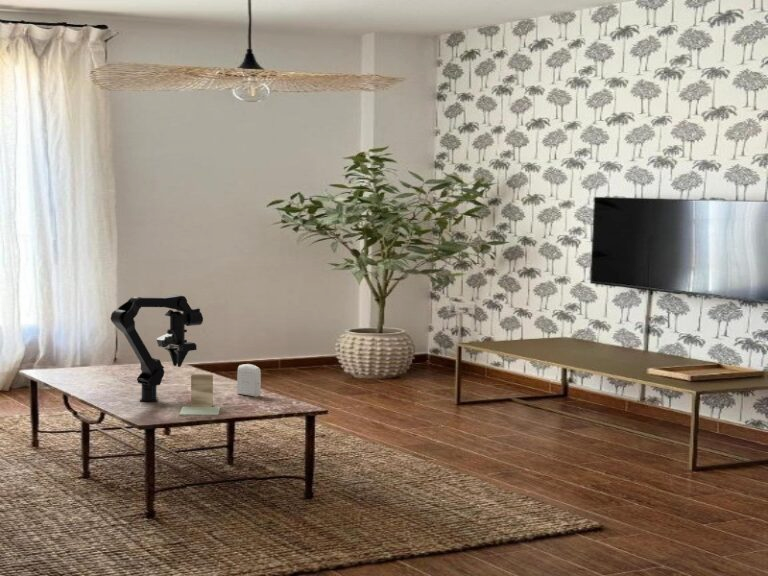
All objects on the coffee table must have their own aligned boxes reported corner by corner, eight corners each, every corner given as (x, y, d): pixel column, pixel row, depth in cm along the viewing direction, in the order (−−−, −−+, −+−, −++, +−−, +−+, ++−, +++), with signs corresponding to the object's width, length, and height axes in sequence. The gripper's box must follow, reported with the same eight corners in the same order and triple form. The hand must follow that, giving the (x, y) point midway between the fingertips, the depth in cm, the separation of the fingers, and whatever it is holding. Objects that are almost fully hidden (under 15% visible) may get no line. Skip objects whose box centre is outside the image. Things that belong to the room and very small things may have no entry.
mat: (182, 407, 432) (182, 406, 432) (220, 407, 433) (220, 406, 433) (179, 415, 418) (179, 414, 418) (218, 415, 419) (218, 414, 419)
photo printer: (262, 395, 459) (262, 365, 458) (255, 397, 456) (255, 366, 455) (242, 392, 465) (242, 362, 464) (235, 394, 461) (235, 363, 460)
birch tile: (191, 405, 437) (191, 374, 435) (212, 405, 437) (213, 374, 436) (190, 407, 433) (191, 375, 432) (212, 407, 434) (212, 375, 433)
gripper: (146, 325, 452) (146, 365, 454) (173, 331, 439) (173, 371, 440) (170, 324, 460) (170, 362, 461) (197, 328, 447) (197, 368, 448)
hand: (177, 366), depth 453 cm, fingers open, 3 cm apart
